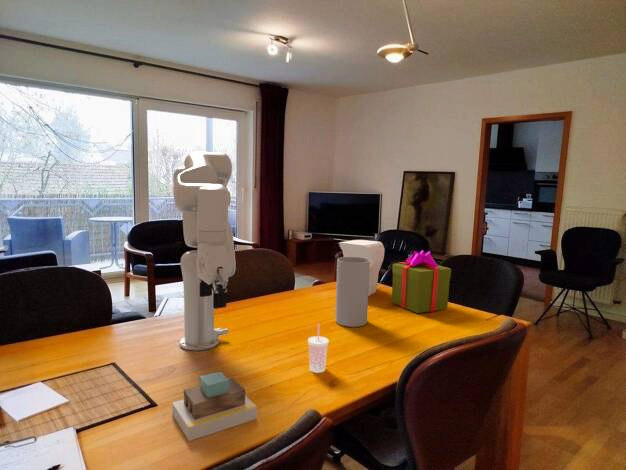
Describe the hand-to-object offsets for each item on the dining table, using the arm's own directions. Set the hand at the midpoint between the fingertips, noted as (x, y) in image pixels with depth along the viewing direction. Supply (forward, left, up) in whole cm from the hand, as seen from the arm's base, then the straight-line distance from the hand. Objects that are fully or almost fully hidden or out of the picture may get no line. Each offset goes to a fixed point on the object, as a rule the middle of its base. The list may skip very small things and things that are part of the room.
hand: (212, 301), depth 110 cm
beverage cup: (-30, +5, -24) cm, 39 cm away
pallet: (+5, +13, -21) cm, 25 cm away
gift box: (-105, -23, -24) cm, 110 cm away
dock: (+5, +13, -24) cm, 27 cm away
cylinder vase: (-65, -22, -24) cm, 73 cm away
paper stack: (-98, -52, -24) cm, 114 cm away
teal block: (+5, +13, -17) cm, 22 cm away
